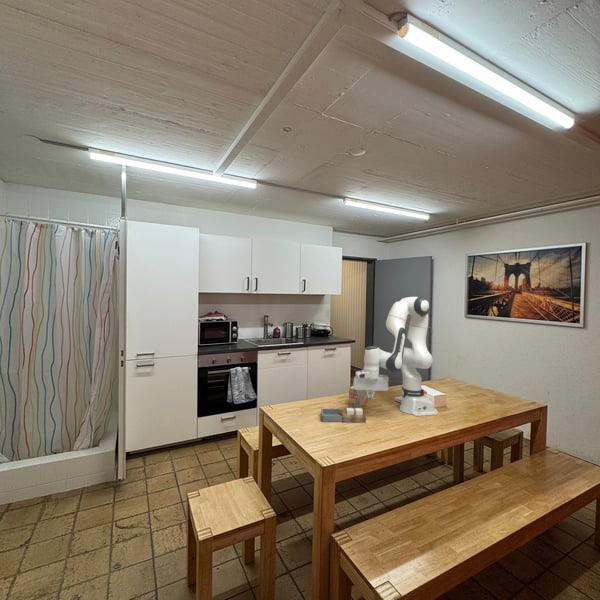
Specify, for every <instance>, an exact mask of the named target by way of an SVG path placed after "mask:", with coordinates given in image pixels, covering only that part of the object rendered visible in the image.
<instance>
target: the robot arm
mask: <svg viewBox="0 0 600 600" xmlns="http://www.w3.org/2000/svg"><path fill="white" fill-rule="evenodd" d="M392 304H393V305H392V306H391V308H390V309H389V312H388V315H387V318H386V320H385V321H386V322H385V326H386V329H387V330H388V332H390V333H391V334H392V335H393V337H394V339H395V340H394V345H393V349H392V352H388V351H386V350H385V351H384V350H382V349H381V348H380V347H379V346H378V345H370V346H367V347H366V348H365V349H364V354H363V356H364V357H363V363H364V365H363V369H362V370H358V371H355V376H354V377H353V382H352V386H353V388H354V389H355V390H366V393H367V397H368V398H371V399H374V395H375V394H376V392H388V390H389V381H390V379H389V376H388V375H387V374H382V373H381V374H380V368H382V369H385V370H387V371H390V372H392V373H397V372H398V371H400V370H401V373H402V387H401V402H400V406H399V410H400V411H401V412H403V413H405V414H407V415H411V416H415V417H422V416H437V415H439V411H438V410H437V409H436V407H435V406H434V403H433V401H432V400H431V399H430V398H428V397H427V396H426V395H427V394H428V391H427V390H425V389H424V388H422V381H423V380H422V376H421V374H420V373H419V371H417V369H420V370H421V369H423V370H425V369H426V370H427V369H430V367H432V365H433V362H434V359H433V358H434V357H433V356H432V354H431V353H430V351H429V350H428V347H427V334H428V329H429V310H430V302H429V300H428V299H427V298H426V297H423V296H408V297H405V296H404V297H401V298H399V299H398V300H397V301H396V302H394V303H392ZM408 315H410V321H409V324H408V325H409V326H408V331H407V330H406V323H407V319H408ZM406 340H408V341H409V342H410V343H411V347H406ZM369 390H371V394H368V392H369Z"/></svg>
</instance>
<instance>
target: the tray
mask: <svg viewBox="0 0 600 600" xmlns="http://www.w3.org/2000/svg"><path fill="white" fill-rule="evenodd" d="M320 409H321V411H320V415H321V420H322V421H321V422H322V423H343V421H342V416H341V415H340V409H341V408H320Z"/></svg>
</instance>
